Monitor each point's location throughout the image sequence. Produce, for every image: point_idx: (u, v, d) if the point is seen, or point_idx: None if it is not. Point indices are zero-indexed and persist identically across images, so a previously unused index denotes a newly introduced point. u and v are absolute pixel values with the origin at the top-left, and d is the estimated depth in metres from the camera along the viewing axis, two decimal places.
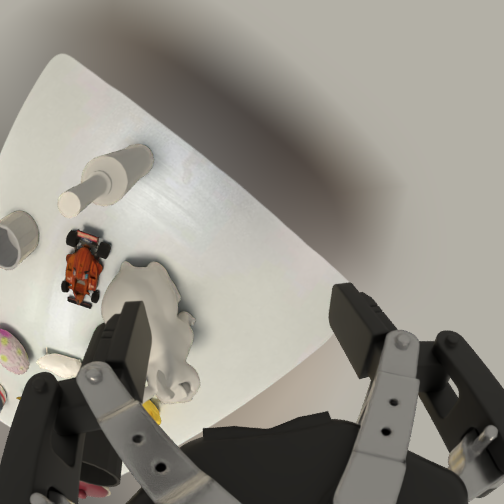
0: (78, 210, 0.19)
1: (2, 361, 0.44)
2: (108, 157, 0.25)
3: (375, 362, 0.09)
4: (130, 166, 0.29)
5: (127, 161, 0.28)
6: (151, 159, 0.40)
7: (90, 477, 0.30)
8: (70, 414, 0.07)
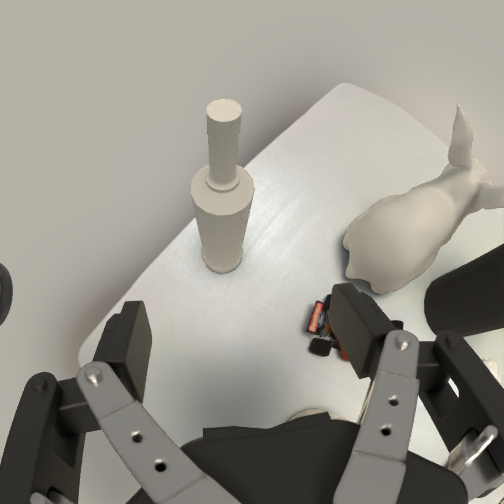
0: (232, 101, 0.16)
1: None
2: (193, 179, 0.24)
3: (375, 362, 0.09)
4: None
5: None
6: None
7: None
8: (70, 414, 0.07)
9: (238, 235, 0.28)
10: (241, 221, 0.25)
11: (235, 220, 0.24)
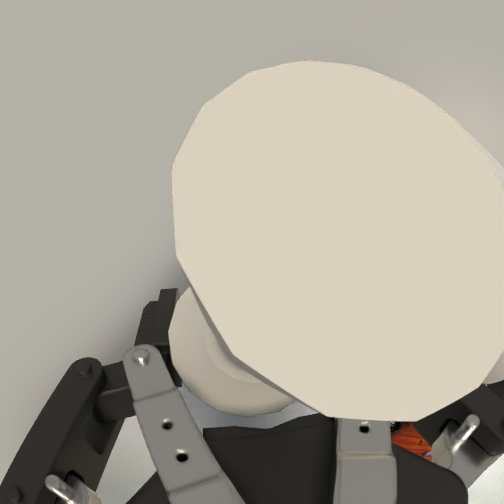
0: (417, 97, 0.02)
1: None
2: (174, 316, 0.09)
3: None
4: None
5: None
6: None
7: None
8: (115, 398, 0.07)
9: None
10: None
11: None
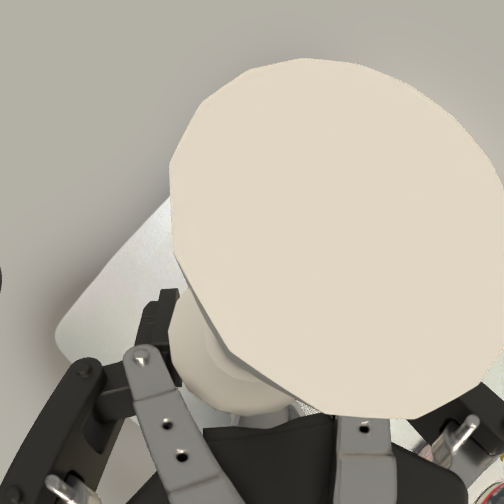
0: (415, 94, 0.02)
1: None
2: (174, 316, 0.09)
3: None
4: None
5: None
6: None
7: None
8: (115, 398, 0.07)
9: None
10: None
11: None
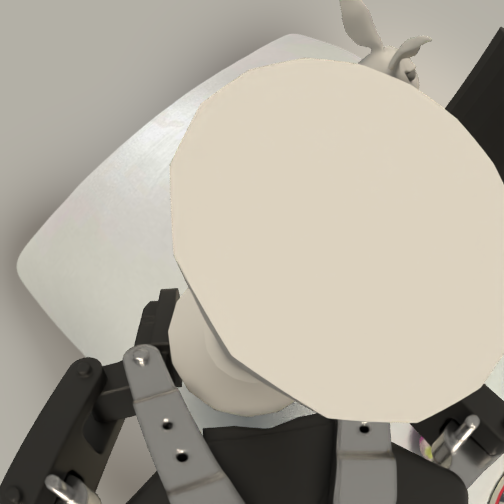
0: (417, 95, 0.02)
1: None
2: (174, 316, 0.09)
3: None
4: None
5: None
6: None
7: None
8: (115, 398, 0.07)
9: None
10: None
11: None
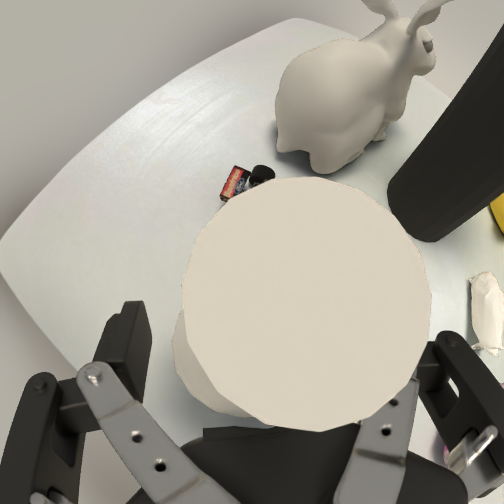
0: (361, 200, 0.02)
1: None
2: (177, 326, 0.10)
3: None
4: None
5: None
6: None
7: None
8: (70, 414, 0.07)
9: None
10: None
11: None
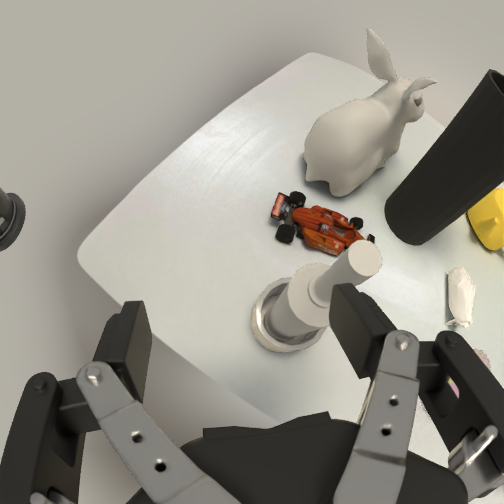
0: (370, 243, 0.15)
1: None
2: (289, 286, 0.23)
3: (375, 362, 0.09)
4: None
5: None
6: None
7: None
8: (70, 414, 0.07)
9: None
10: None
11: None
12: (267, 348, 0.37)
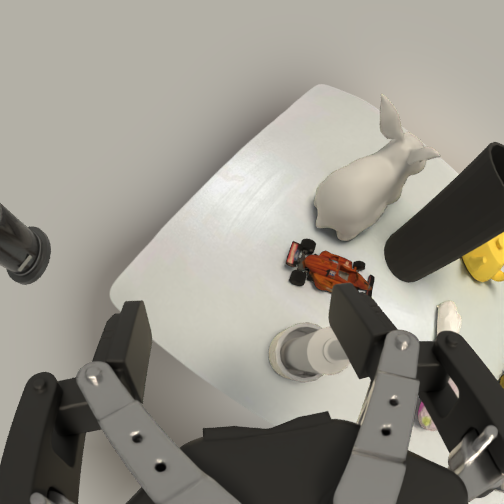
0: None
1: None
2: (308, 346, 0.29)
3: (375, 362, 0.09)
4: (313, 332, 0.32)
5: (309, 335, 0.32)
6: (295, 338, 0.43)
7: None
8: (70, 414, 0.07)
9: None
10: None
11: None
12: (282, 376, 0.43)
